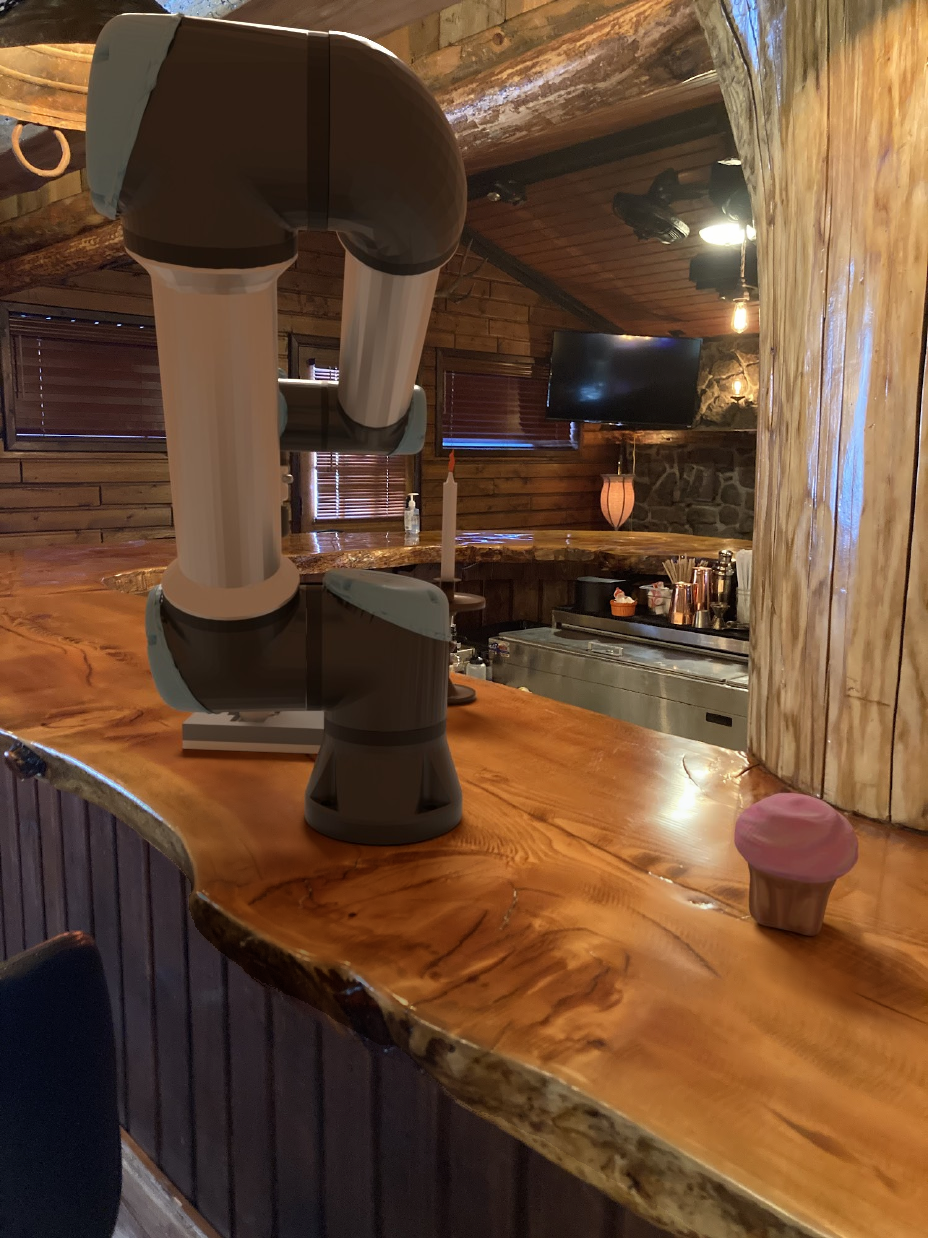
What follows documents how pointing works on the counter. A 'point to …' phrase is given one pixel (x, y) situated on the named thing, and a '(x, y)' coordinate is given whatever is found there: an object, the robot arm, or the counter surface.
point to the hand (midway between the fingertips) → (257, 679)
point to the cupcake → (794, 859)
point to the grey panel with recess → (255, 732)
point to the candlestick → (447, 582)
